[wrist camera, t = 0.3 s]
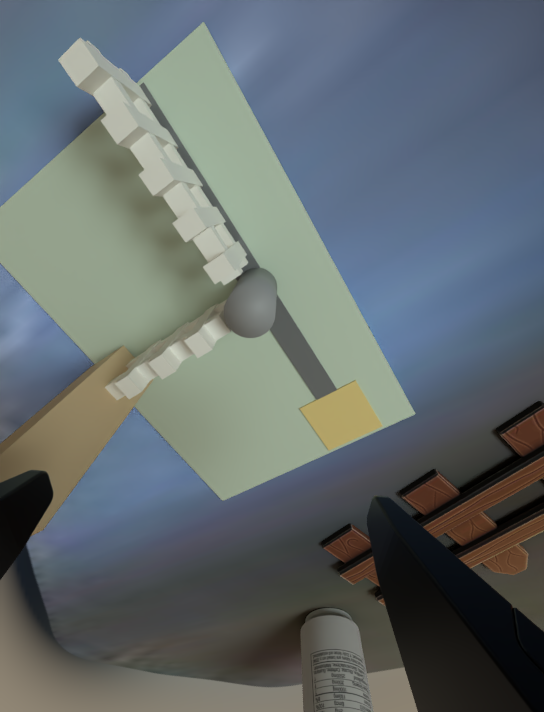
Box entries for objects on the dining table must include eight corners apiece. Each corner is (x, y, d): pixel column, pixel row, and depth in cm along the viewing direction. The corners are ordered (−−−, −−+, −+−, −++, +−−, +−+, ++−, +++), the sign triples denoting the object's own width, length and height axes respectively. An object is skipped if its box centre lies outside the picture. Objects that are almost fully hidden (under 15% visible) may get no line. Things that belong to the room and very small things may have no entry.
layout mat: (-25, 232, 19) (-30, 232, 19) (204, 23, 15) (203, 20, 15) (223, 499, 28) (222, 502, 28) (414, 412, 24) (416, 414, 23)
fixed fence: (111, 104, 17) (37, 61, 12) (147, 71, 16) (85, 11, 11) (252, 312, 21) (242, 346, 16) (284, 292, 20) (285, 322, 15)
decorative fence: (311, 541, 31) (411, 609, 35) (313, 559, 29) (417, 629, 33) (548, 386, 23) (640, 496, 27) (567, 400, 22) (662, 514, 26)
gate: (221, 281, 20) (150, 369, 9) (249, 322, 21) (214, 442, 10) (91, 366, 22) (-77, 508, 12) (121, 398, 23) (-8, 555, 13)
